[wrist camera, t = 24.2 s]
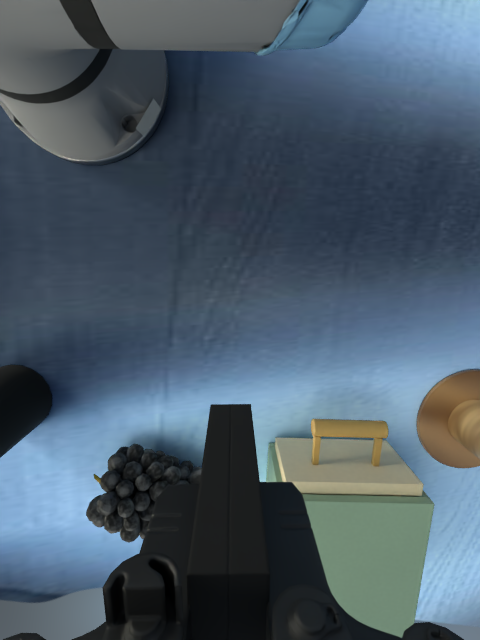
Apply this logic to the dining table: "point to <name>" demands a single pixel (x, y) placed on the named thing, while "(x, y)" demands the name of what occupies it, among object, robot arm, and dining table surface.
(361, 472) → the drawer
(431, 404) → the cork coaster
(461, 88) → the dining table surface
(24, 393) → the wine bottle
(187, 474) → the fruit
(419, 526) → the cabinet
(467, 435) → the pepper mill
